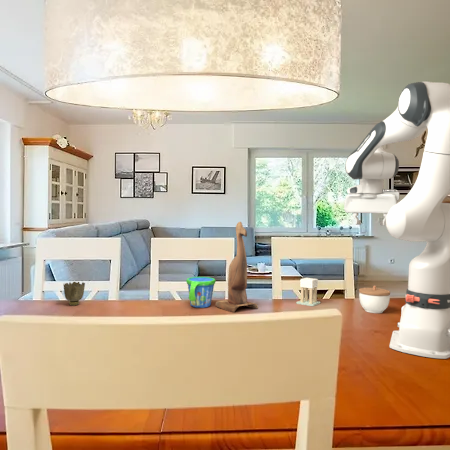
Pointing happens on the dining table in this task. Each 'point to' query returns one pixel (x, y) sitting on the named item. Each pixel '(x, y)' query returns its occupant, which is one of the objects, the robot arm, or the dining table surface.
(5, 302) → the dining table surface
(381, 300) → the lidded jar
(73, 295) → the cup
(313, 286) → the stool
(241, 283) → the bird sculpture
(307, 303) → the mat
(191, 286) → the snack cup
